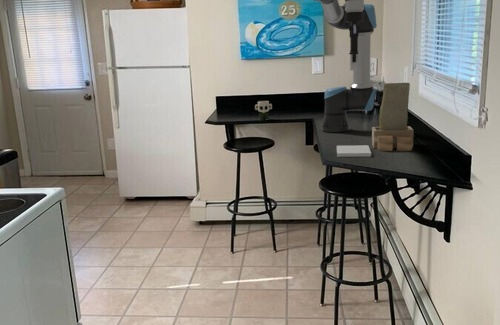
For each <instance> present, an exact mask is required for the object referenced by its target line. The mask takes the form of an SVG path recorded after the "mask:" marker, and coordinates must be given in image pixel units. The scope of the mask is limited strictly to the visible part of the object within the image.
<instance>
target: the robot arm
mask: <svg viewBox="0 0 500 325" xmlns="http://www.w3.org/2000/svg"><path fill="white" fill-rule="evenodd" d="M313 2H319V3H320V4H321V6H322V8H323V11H324V14H323V16H324V19H325V21H326V23H327V24H328V25H330V26H331V27H333V28H335V29H338V30H348V31H349V39H350V41H349V42H350V43H349V45H350V50H349V54H348V55H350V56H349V58H350V61H349V62H350V64H349V65H350V69H349V70H350V71H353V74H352V79H353V80H352V81H353V83H352V84H350V87H349V88H347V86H345V85H344V86H336V87H335V86H334V87H331V88H327V89H325V91H324V98H323V100H324V117H323V121H322V124H321V131H322V132H326V133H343V132H345V133H346V132H348V131H350V129H351V128H350V124H349V121H348V116H347V112H351V111H352V112H355V111H356V112H360V111H361V112H367V111H372V110H373V109H374V104H375V96H376V91H377V90H376V88H374V84H373V83H372V82H371V36H372V34H373V33H374V32H375V31H374V30H375V29H377V17H376V8H375V6H374V5H373V4H369V3H368V4H365V0H344V3H343V5H340V3H339V0H313Z"/></svg>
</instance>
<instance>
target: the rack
mask: <svg viewBox="0 0 500 325" xmlns="http://www.w3.org/2000/svg"><path fill="white" fill-rule="evenodd" d="M401 135H411V137H412V149H413V148H414V129H413V128H412V126H409V125H407V130H380V126H372V127H371V144H372V145H371V146H372V147H373V148H374V149H377V147H378V136H392V137H393V148H392V149H396V136H401Z"/></svg>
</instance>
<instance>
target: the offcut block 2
mask: <svg viewBox="0 0 500 325" xmlns="http://www.w3.org/2000/svg"><path fill="white" fill-rule="evenodd" d="M395 149H396V151H400V152H401V151H410V152H411V151H412V150H413V148H412V137H411V135H401V136H396V148H395Z"/></svg>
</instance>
